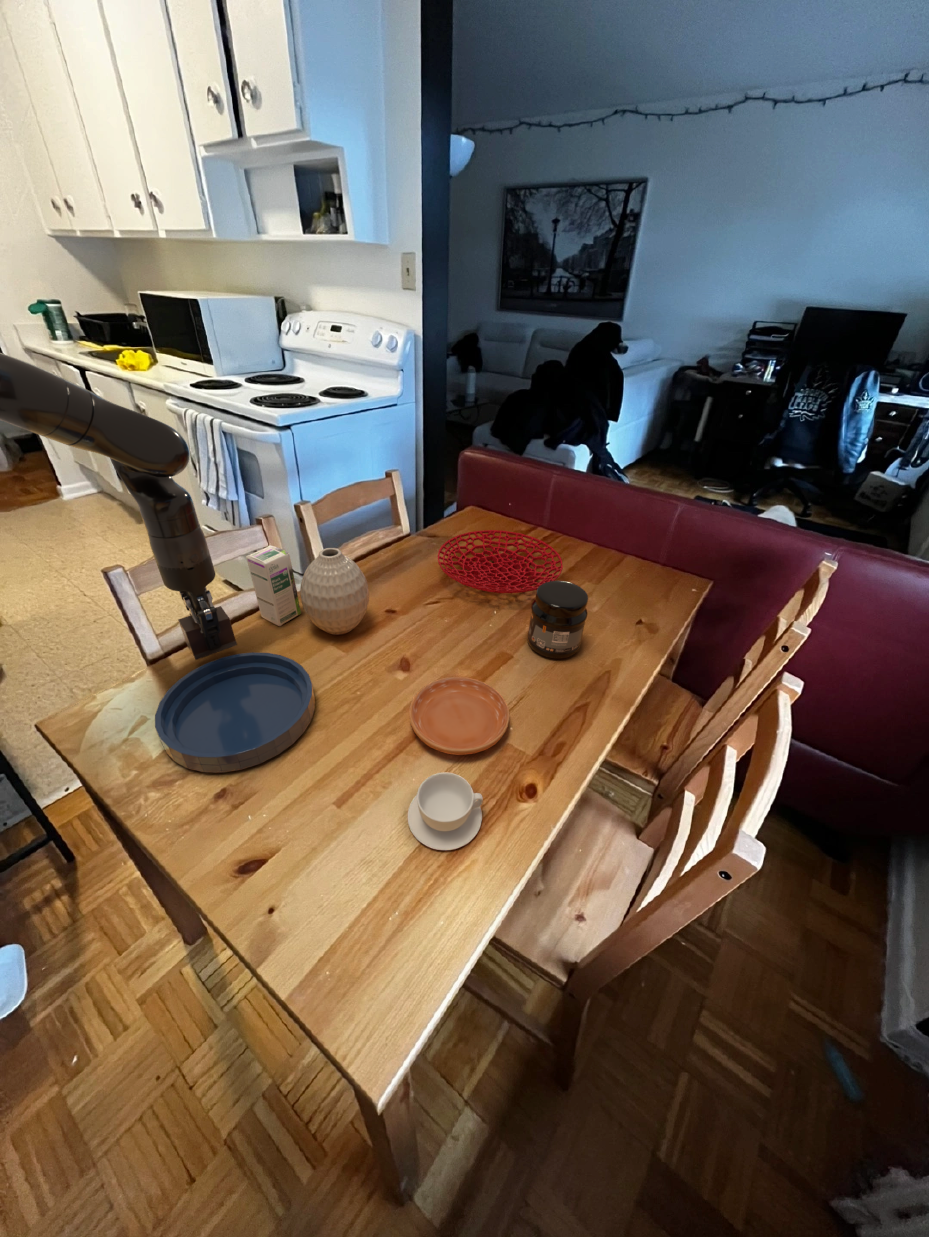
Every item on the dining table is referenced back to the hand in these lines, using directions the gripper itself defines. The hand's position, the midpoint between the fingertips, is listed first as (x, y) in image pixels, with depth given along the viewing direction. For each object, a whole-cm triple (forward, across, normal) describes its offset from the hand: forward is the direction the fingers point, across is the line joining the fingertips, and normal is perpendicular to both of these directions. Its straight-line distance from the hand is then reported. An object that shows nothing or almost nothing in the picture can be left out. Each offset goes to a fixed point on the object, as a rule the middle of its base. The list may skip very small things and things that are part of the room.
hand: (210, 640), depth 87 cm
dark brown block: (+1, 0, 0) cm, 1 cm away
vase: (+5, +3, +23) cm, 24 cm away
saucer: (+5, +38, +26) cm, 46 cm away
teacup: (+5, +50, +14) cm, 52 cm away
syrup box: (+5, -7, +15) cm, 18 cm away
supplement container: (+5, +33, +54) cm, 63 cm away
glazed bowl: (+5, +16, -1) cm, 16 cm away
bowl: (+6, +7, +63) cm, 64 cm away
